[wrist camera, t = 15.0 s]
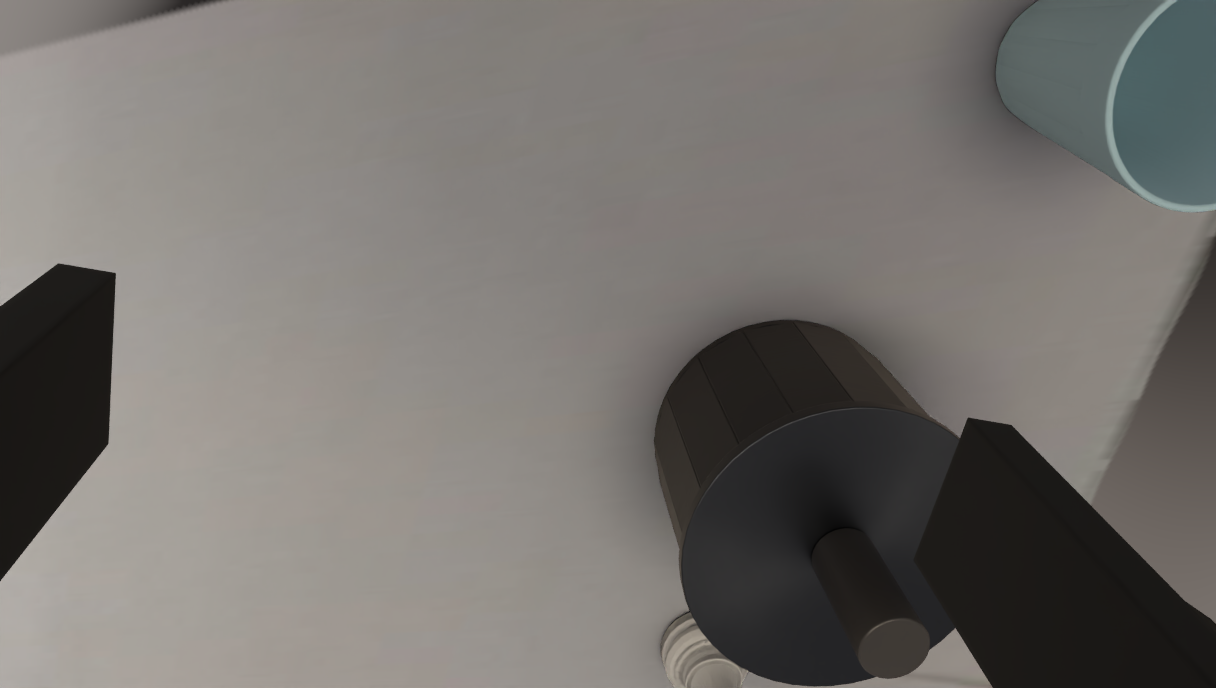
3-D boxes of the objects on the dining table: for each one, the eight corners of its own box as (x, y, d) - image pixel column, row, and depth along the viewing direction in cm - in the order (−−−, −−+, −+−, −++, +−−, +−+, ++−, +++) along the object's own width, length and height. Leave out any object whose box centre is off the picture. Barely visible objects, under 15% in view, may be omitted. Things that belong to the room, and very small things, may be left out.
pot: (692, 296, 44) (738, 383, 36) (929, 346, 46) (1028, 440, 38) (627, 519, 48) (655, 647, 39) (849, 556, 50) (922, 686, 41)
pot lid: (727, 364, 36) (774, 451, 30) (1034, 425, 38) (1137, 519, 32) (640, 644, 40) (666, 772, 34) (922, 685, 42) (994, 812, 36)
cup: (1103, -80, 40) (1291, -85, 31) (1176, 80, 43) (1369, 122, 33) (938, 36, 41) (1070, 67, 32) (1019, 186, 44) (1163, 255, 34)
